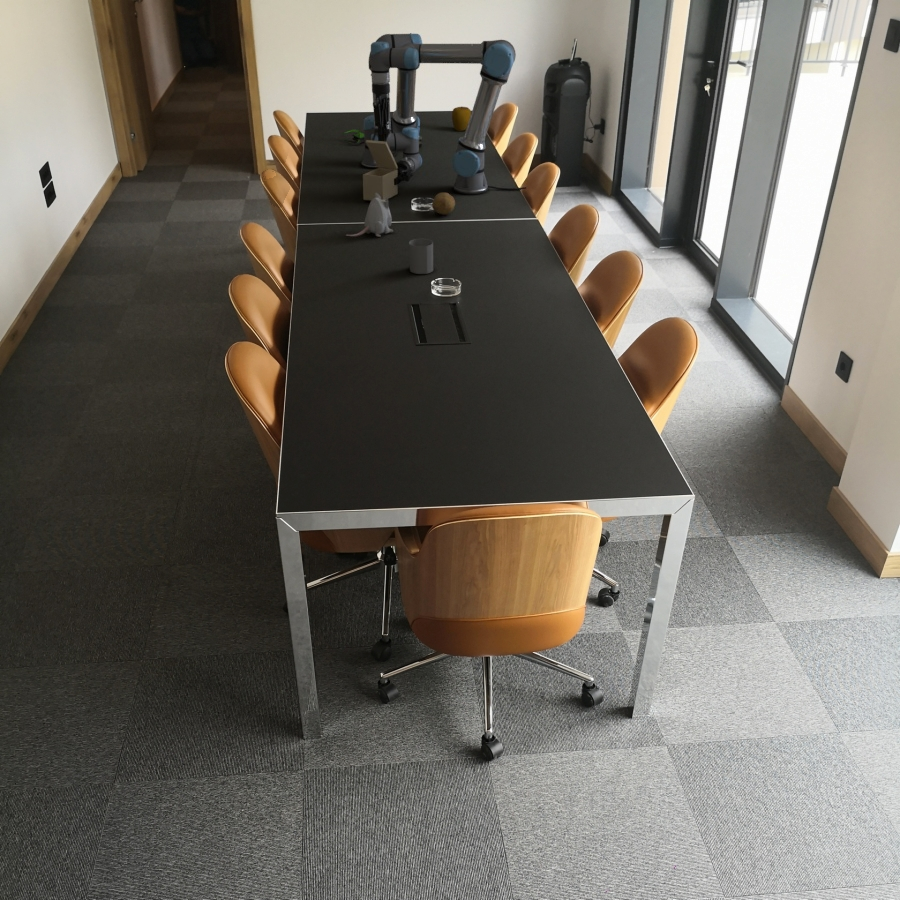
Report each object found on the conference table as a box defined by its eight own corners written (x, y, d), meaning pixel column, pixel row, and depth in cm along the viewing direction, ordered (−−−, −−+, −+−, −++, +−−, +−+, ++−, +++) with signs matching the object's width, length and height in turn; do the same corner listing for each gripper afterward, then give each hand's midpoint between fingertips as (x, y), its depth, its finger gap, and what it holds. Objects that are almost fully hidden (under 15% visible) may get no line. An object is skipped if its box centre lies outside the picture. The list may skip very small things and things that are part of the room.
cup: (409, 265, 311) (408, 238, 306) (432, 265, 312) (431, 238, 307) (410, 274, 304) (409, 246, 299) (433, 273, 305) (433, 246, 299)
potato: (453, 208, 369) (453, 189, 365) (456, 218, 357) (456, 199, 353) (431, 208, 368) (430, 189, 364) (432, 218, 356) (432, 199, 352)
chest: (382, 201, 373) (382, 176, 368) (363, 199, 375) (362, 174, 370) (397, 194, 387) (397, 169, 382) (378, 192, 389) (378, 167, 384)
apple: (471, 132, 486) (471, 108, 479) (451, 132, 486) (451, 108, 479) (470, 128, 495) (471, 104, 488) (452, 128, 495) (452, 104, 488)
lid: (385, 143, 365) (391, 126, 367) (365, 142, 367) (371, 124, 370) (397, 169, 381) (402, 152, 384) (378, 167, 384) (383, 150, 386)
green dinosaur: (399, 126, 467) (343, 124, 465) (399, 141, 460) (342, 139, 458) (399, 136, 472) (343, 133, 470) (399, 151, 465) (342, 149, 463)
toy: (398, 232, 342) (397, 194, 334) (353, 246, 328) (351, 207, 320) (383, 227, 348) (381, 189, 340) (338, 241, 333) (335, 202, 325)
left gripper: (381, 157, 401) (361, 170, 383) (425, 162, 395) (407, 174, 377) (382, 174, 405) (362, 187, 387) (425, 178, 399) (407, 192, 381)
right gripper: (379, 79, 367) (381, 137, 380) (365, 85, 355) (367, 144, 368) (395, 80, 365) (397, 138, 378) (382, 86, 353) (384, 146, 366)
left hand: (384, 181), depth 382 cm, fingers closed on chest, 9 cm apart
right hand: (382, 141), depth 373 cm, fingers closed on lid, 2 cm apart
